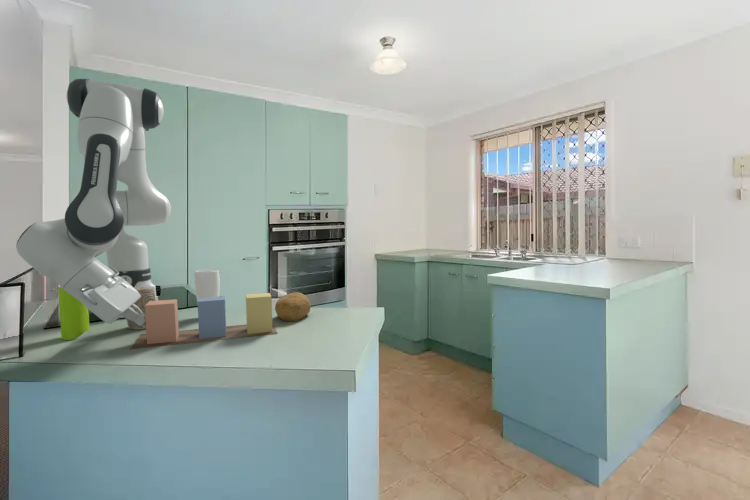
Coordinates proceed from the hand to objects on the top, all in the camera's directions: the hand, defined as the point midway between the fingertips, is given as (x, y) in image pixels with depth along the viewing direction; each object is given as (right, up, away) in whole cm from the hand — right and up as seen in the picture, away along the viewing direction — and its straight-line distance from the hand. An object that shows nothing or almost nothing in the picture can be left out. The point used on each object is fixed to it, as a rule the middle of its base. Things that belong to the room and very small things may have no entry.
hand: (144, 321), depth 93 cm
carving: (-8, -5, +14) cm, 17 cm away
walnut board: (+12, -6, +6) cm, 15 cm away
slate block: (+14, -4, +5) cm, 15 cm away
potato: (+30, -4, +23) cm, 38 cm away
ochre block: (+24, -4, +9) cm, 26 cm away
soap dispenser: (-24, -6, +10) cm, 27 cm away
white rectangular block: (+5, -4, +25) cm, 25 cm away
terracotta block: (+3, -5, +2) cm, 6 cm away
